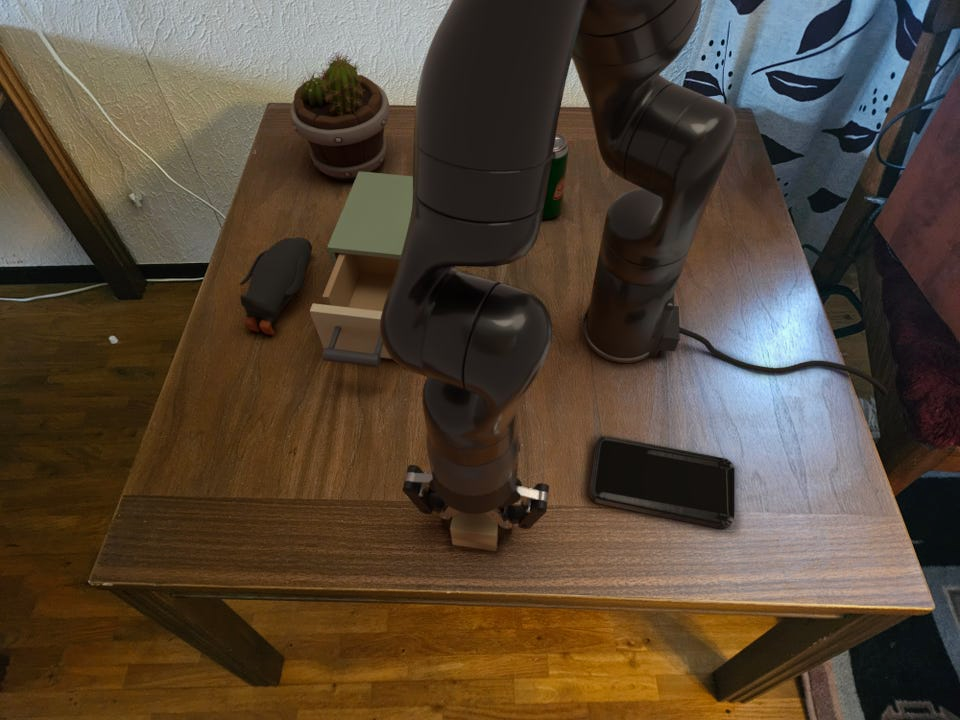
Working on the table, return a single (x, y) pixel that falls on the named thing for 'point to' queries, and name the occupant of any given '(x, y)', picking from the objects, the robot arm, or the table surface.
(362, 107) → the flowerpot
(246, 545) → the table surface
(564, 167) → the soda can
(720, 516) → the phone
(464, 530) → the block
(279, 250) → the figurine
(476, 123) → the robot arm
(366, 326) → the drawer
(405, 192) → the cabinet
